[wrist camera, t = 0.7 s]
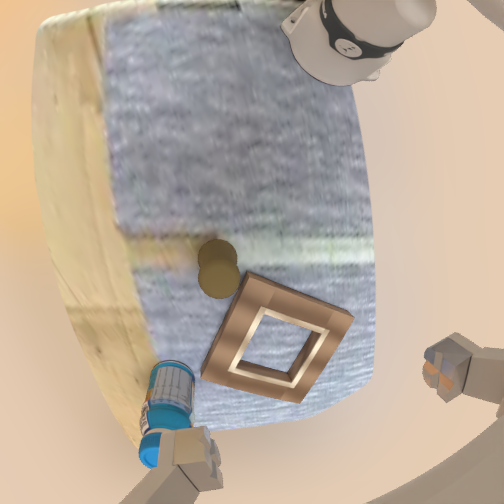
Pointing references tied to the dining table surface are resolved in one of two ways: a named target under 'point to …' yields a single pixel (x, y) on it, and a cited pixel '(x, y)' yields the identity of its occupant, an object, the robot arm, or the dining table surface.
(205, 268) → the olive peg
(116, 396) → the dining table surface
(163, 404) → the beverage bottle
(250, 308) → the socket board
